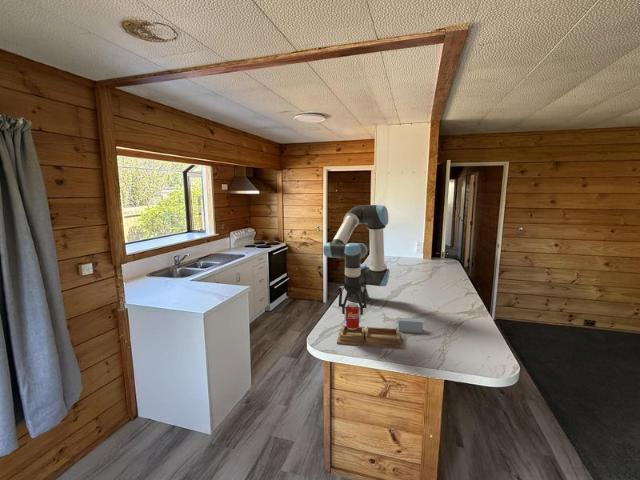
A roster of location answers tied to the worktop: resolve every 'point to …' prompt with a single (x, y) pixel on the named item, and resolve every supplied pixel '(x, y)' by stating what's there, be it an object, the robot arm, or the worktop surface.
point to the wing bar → (410, 325)
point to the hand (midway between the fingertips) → (352, 320)
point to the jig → (370, 337)
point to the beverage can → (352, 316)
